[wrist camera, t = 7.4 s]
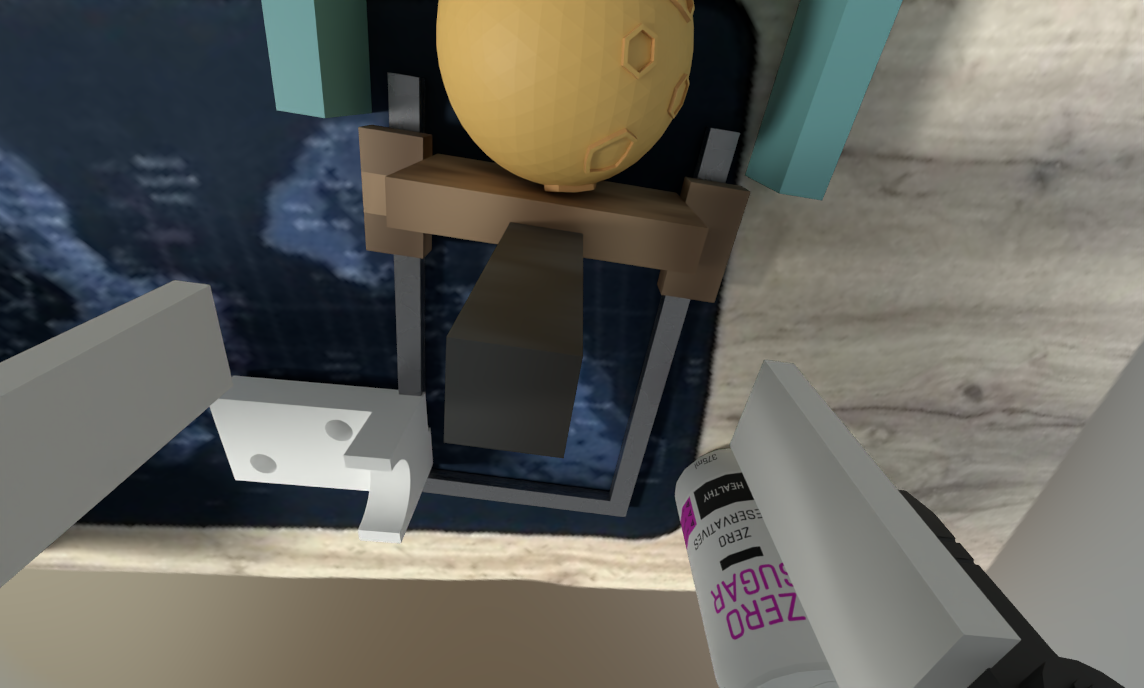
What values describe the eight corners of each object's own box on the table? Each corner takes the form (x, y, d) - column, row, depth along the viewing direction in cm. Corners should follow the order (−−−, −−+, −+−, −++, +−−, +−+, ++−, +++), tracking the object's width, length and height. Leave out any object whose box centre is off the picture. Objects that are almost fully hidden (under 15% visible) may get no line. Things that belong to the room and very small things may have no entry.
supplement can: (736, 531, 39) (815, 759, 25) (652, 495, 37) (691, 721, 24) (803, 468, 35) (935, 694, 22) (715, 425, 33) (801, 643, 20)
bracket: (429, 384, 33) (390, 459, 26) (434, 460, 36) (400, 543, 29) (242, 368, 32) (154, 439, 26) (265, 446, 36) (193, 527, 29)
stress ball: (454, 78, 24) (493, 252, 22) (369, -168, 14) (424, 97, 12) (639, 36, 24) (696, 203, 22) (676, -231, 15) (783, 17, 13)
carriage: (384, 236, 27) (120, 431, 12) (380, 123, 24) (19, 182, 9) (703, 285, 28) (850, 524, 13) (735, 182, 25) (975, 328, 10)
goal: (332, 106, 24) (276, 110, 20) (306, -197, 19) (222, -284, 14) (780, 181, 25) (822, 200, 21) (873, -83, 20) (955, -131, 16)
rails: (406, 479, 37) (401, 489, 36) (395, 72, 23) (387, 72, 22) (624, 507, 38) (625, 516, 37) (734, 131, 24) (740, 132, 23)
